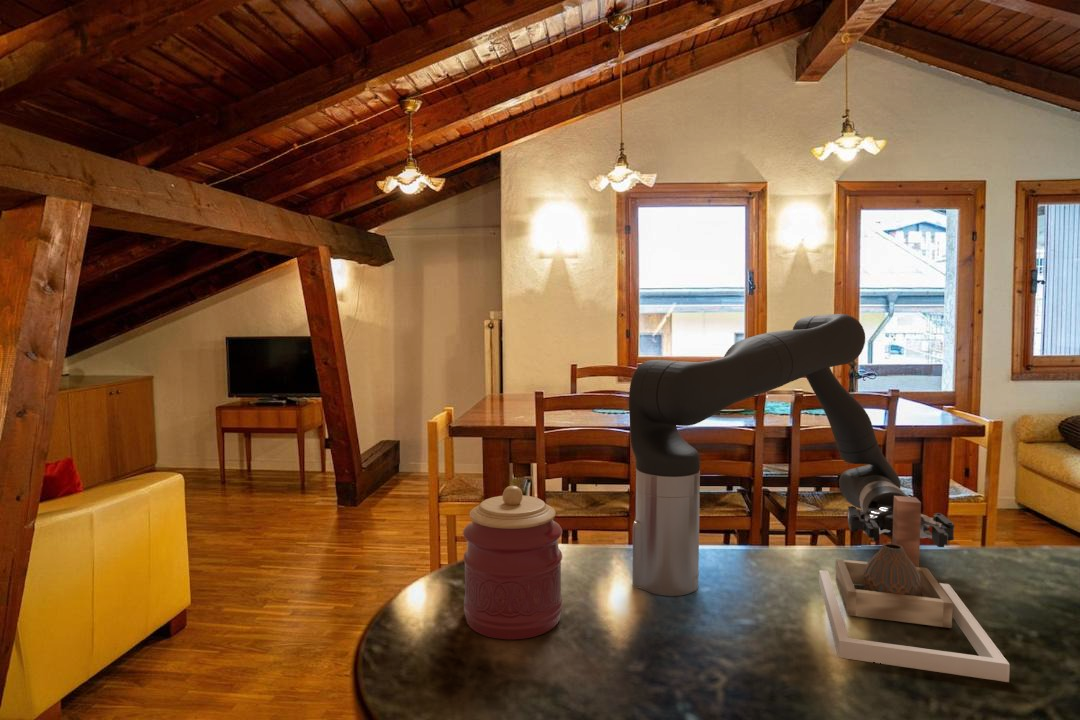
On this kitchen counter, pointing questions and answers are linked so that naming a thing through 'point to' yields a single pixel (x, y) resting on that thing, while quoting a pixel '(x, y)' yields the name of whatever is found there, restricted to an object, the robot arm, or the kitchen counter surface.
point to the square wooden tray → (888, 605)
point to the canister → (512, 567)
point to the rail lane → (981, 666)
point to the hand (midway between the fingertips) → (908, 537)
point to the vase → (892, 572)
